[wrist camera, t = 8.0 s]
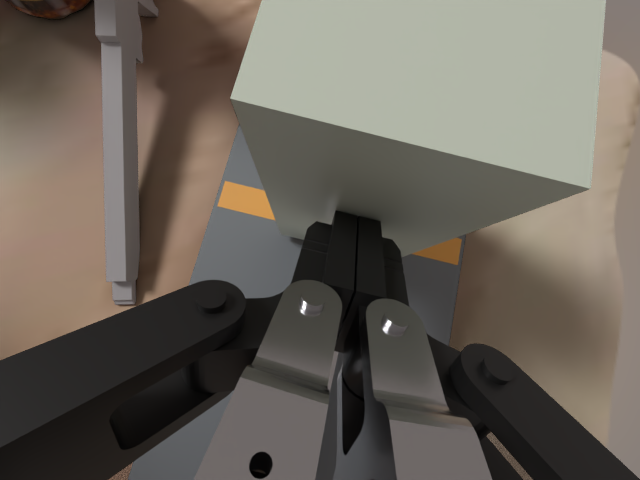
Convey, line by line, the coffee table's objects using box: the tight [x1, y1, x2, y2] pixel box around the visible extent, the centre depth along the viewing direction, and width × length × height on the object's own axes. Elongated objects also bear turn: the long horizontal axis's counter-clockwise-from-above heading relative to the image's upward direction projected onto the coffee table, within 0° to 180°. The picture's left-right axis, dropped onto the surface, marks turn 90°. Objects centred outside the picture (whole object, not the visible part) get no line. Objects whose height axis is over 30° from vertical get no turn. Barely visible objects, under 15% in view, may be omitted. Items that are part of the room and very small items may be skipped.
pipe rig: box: [128, 124, 466, 480], centre depth 15 cm, size 14×24×4 cm, turn 167°
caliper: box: [94, 0, 159, 305], centre depth 16 cm, size 20×1×6 cm, turn 1°
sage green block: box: [230, 0, 606, 257], centre depth 11 cm, size 6×5×12 cm
